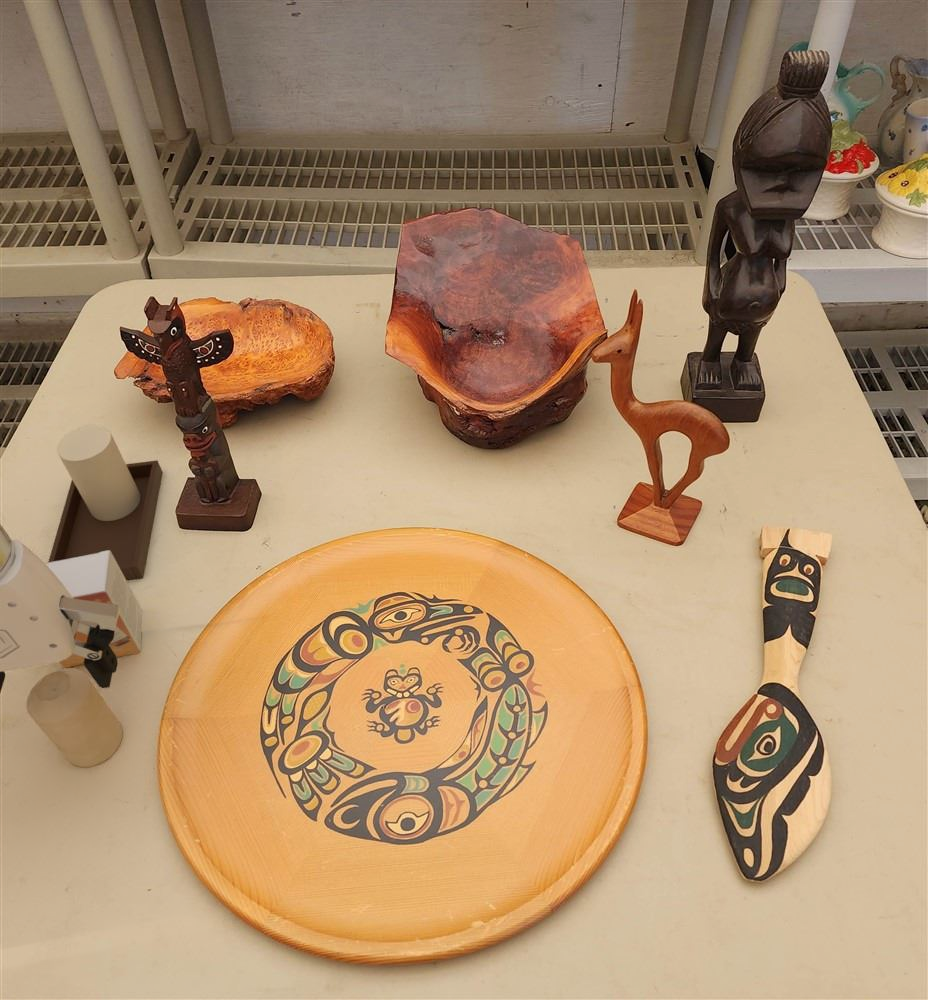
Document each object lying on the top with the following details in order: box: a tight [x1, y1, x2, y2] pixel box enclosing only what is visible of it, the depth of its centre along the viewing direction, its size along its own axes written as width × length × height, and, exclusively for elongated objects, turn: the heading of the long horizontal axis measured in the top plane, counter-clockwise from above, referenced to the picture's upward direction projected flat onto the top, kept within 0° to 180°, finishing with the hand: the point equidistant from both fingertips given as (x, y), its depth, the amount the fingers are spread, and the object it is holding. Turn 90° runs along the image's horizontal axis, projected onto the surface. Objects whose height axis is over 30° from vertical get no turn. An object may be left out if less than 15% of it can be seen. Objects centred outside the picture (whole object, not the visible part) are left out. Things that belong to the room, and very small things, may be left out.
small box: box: [44, 550, 143, 669], centre depth 87 cm, size 8×6×10 cm
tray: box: [47, 459, 164, 582], centre depth 101 cm, size 10×17×3 cm, turn 7°
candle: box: [26, 667, 123, 768], centre depth 79 cm, size 6×6×10 cm
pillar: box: [56, 424, 140, 521], centre depth 101 cm, size 6×6×10 cm
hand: (53, 682), depth 75 cm, fingers open, 9 cm apart
